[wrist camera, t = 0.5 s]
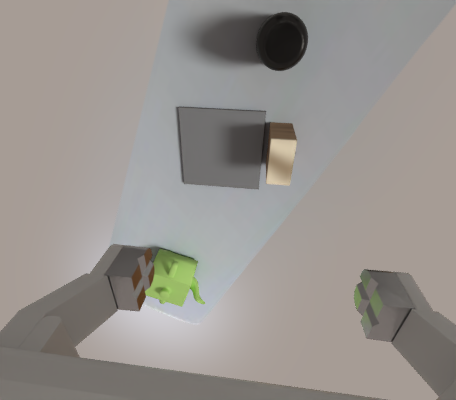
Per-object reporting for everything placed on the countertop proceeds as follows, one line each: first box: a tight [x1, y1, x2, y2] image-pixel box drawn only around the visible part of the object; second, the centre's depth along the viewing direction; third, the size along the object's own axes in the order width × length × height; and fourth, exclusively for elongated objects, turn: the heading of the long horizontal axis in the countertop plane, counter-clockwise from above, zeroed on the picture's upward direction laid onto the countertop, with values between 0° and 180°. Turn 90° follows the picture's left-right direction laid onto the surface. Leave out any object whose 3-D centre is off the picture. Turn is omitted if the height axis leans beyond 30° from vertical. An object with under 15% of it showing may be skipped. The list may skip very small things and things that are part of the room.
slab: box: [266, 122, 297, 185], centre depth 48 cm, size 8×4×9 cm, turn 179°
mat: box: [178, 107, 266, 189], centre depth 54 cm, size 16×16×1 cm
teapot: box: [145, 249, 205, 306], centre depth 68 cm, size 15×13×11 cm
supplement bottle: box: [256, 12, 308, 71], centre depth 38 cm, size 7×7×12 cm
